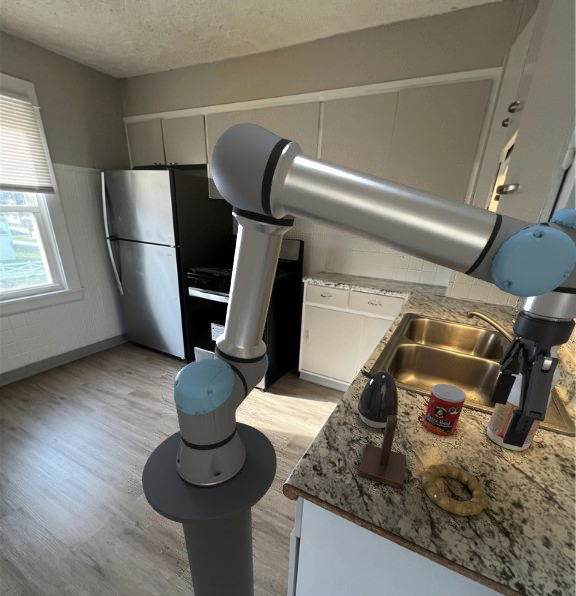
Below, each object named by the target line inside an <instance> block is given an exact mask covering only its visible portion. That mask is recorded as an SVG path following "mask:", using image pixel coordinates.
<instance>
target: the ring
mask: <svg viewBox="0 0 576 596" xmlns="http://www.w3.org/2000/svg"><path fill="white" fill-rule="evenodd" d="M438 477H448V478H452V479H455V480H457V481H459V482H460V483H462V484H463V485H465V486H466V487H467V488H468V489H469V491H470V493H471V496H472V497H471V498H470V500H464V501H463V500H462V501H460V500H458V499H455V498H451V497H449V496H447V495H446V494H445V493H443V492H442V491H441V490H440V489H439V487H437V485H436V483H435V482H436V481H435V480H436V479H437V478H438ZM421 486H422V489H423V490H424V492H425V493H426V495H427V496H428V498H429V500H431V501H432V502H433V503H435V505H437V506H438V507H440V508H441V509H443V510H444V511H446V512H449V513H452V514H455V515H458V516H462V517H468V516H477V515H479V514H481V513H482V512H483V510H484V509H485V508H486V507H487V505H488V498H487V493H486V489H485V488H484V486H483V485H482V484H481V482H479V481H478V479H477V478H476V477H475V476H474V475H472V474H471V473H469V472H468V471H466V470H464V469H463V468H461V467H458V466H454V465H451V464H447V463H439V464H438V463H437V464H431V465H430V466H428V467H427V468H425V470H423V472H422V473H421Z"/></svg>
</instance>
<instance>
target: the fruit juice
mask: <svg viewBox="0 0 576 596" xmlns="http://www.w3.org/2000/svg"><path fill="white" fill-rule="evenodd" d="M561 347H562V345H555V346H552V347H551V351H550V353H551V357H553V358H558V350H559V349H560V348H561ZM558 364H559V363H558ZM558 364H557V367H556V370H555V372H554V376H553V380H552V385H551V390H550V395H549V400H548V405H547V409H546V411H547V410H548V408H549V405H550V404H551V400H552V390H553V389H554V388H555V387H556V386H557V385H558V383H559V382H560V380H561V371H560V368H559V365H558ZM512 375H513V376H516V380H515V382H514V385H513V387H512V390H511V392H510V395H509V397H508V400H507V403H506V405H503V404H498V403H495V405H494V408H493V410H492V414H491V416H490V419H489V421H488V424H487V427H486V434H487V437H488V438H489V439H490V440H491V441H492V442H494V443H495V444H496V445H498V446H500V447H502V448H505V449H507V450H511V451H517V452H518V451H525V450H527V449H528V448H529V447H530V446H531V444H532V442H533V440H534V437H535V436H536V433H537V431H538V429H539V427H540V424H541V423H542V422H541V421H537V420H534V422H533V425H532V427H531V429H530V431H529V433H528V436H527V438H526V440H525V442H524V444H523V447H522V448H521V447H517V446H513V445H509V444H505V443H503V439H504V436H505V434H506V431H507V429H508V426H509V424H510V422H511V419H512V417H513V414H514V413H513V410H516V409H517V410H519V401H520V392H521V383H522V374H520V372H519V375H515V374H512Z"/></svg>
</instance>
